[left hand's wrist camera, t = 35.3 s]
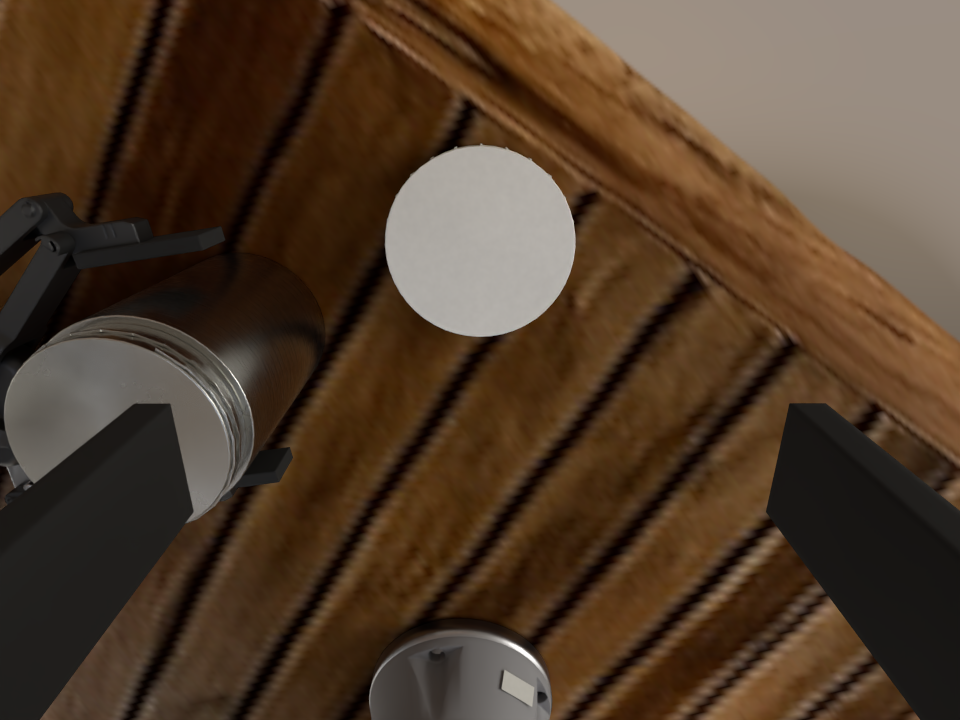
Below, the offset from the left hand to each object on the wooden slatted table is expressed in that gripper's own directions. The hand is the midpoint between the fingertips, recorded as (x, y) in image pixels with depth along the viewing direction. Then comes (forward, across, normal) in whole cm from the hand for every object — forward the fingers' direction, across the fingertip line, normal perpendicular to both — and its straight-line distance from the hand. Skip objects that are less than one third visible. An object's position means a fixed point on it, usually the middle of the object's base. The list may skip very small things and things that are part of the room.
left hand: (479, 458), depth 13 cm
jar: (+26, +15, +6) cm, 30 cm away
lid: (+24, 0, 0) cm, 24 cm away
